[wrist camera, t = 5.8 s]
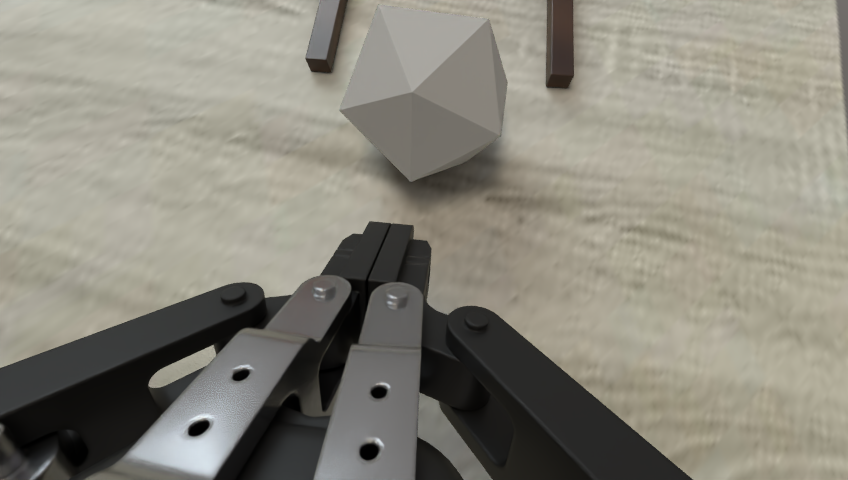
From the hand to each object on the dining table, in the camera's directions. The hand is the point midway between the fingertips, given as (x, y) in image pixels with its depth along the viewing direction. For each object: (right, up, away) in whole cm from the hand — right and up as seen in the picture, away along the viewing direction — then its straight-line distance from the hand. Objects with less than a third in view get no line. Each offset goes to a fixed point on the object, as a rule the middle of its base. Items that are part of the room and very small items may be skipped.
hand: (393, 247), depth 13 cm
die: (+1, +7, +12) cm, 14 cm away
